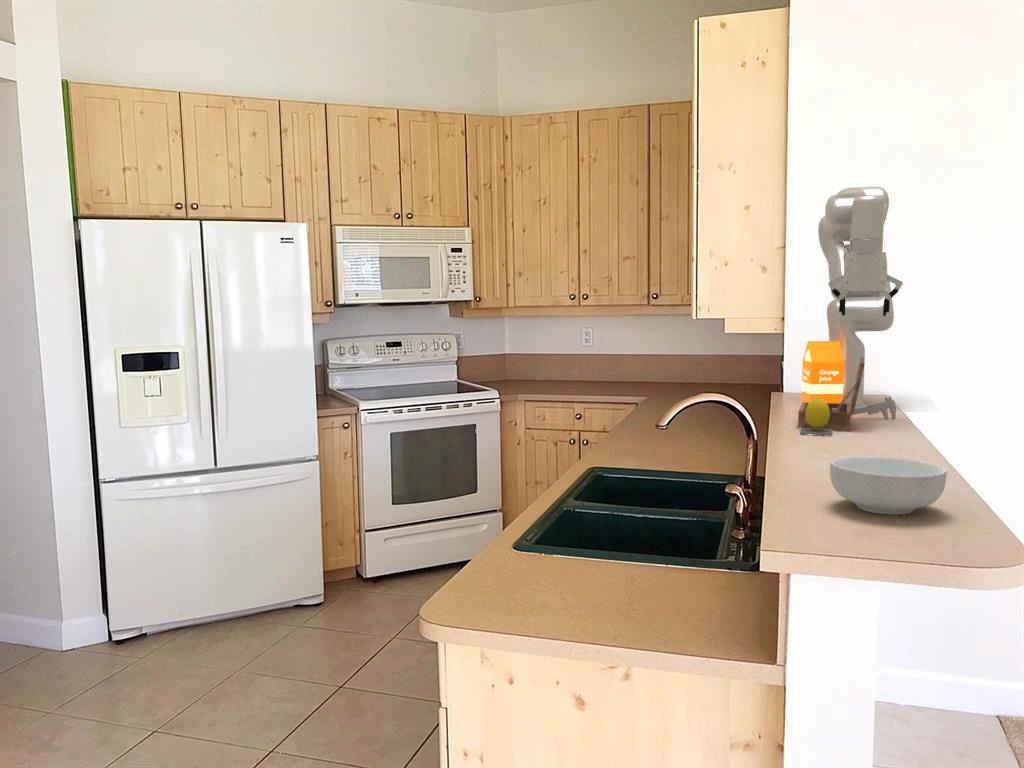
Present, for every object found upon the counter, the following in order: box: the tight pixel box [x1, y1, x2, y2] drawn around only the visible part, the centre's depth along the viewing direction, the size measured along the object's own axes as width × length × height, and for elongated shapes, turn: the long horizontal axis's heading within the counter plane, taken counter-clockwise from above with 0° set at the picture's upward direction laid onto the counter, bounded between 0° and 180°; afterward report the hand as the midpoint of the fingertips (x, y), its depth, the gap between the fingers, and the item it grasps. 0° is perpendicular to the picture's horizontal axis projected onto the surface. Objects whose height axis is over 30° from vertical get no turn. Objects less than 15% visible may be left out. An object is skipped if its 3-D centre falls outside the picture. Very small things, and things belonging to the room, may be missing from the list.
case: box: [797, 358, 866, 432], centre depth 222 cm, size 18×15×17 cm
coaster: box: [799, 428, 833, 437], centre depth 211 cm, size 7×7×1 cm
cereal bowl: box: [829, 455, 947, 516], centre depth 138 cm, size 17×17×7 cm
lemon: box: [805, 397, 830, 430], centre depth 210 cm, size 6×6×8 cm
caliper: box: [851, 395, 897, 420], centre depth 232 cm, size 20×1×6 cm, turn 88°
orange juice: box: [801, 340, 844, 403], centre depth 242 cm, size 8×9×20 cm
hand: (863, 315), depth 223 cm, fingers open, 9 cm apart
